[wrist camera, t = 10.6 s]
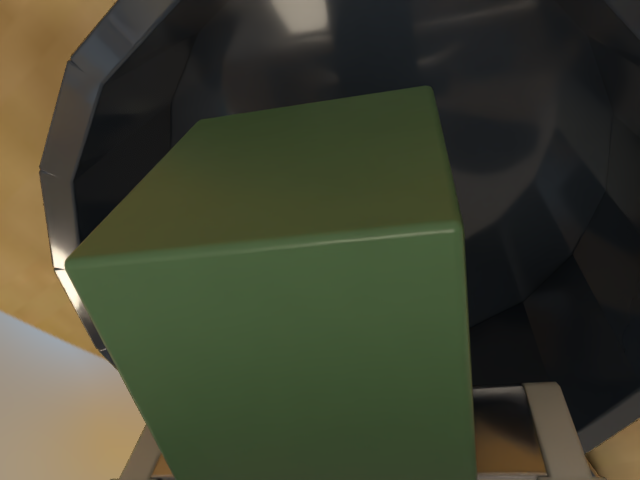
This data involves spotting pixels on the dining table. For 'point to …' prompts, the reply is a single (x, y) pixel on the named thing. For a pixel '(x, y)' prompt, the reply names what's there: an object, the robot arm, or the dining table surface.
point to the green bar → (294, 296)
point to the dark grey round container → (460, 139)
